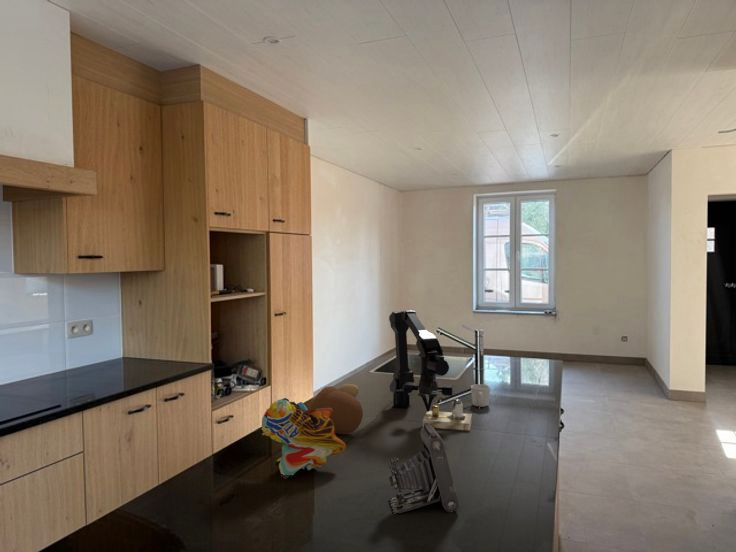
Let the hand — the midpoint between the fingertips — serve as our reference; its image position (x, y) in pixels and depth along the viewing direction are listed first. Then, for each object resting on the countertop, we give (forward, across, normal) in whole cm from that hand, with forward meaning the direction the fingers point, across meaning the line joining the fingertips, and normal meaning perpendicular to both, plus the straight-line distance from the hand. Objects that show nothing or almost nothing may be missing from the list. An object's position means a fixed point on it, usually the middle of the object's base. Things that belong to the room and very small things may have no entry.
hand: (428, 411), depth 193 cm
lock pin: (+4, +4, 0) cm, 6 cm away
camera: (+4, +9, -66) cm, 67 cm away
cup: (+4, +18, +26) cm, 32 cm away
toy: (+4, -30, -20) cm, 36 cm away
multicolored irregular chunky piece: (+4, -29, -52) cm, 60 cm away
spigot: (+4, +11, 0) cm, 12 cm away
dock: (+4, +7, 0) cm, 8 cm away
